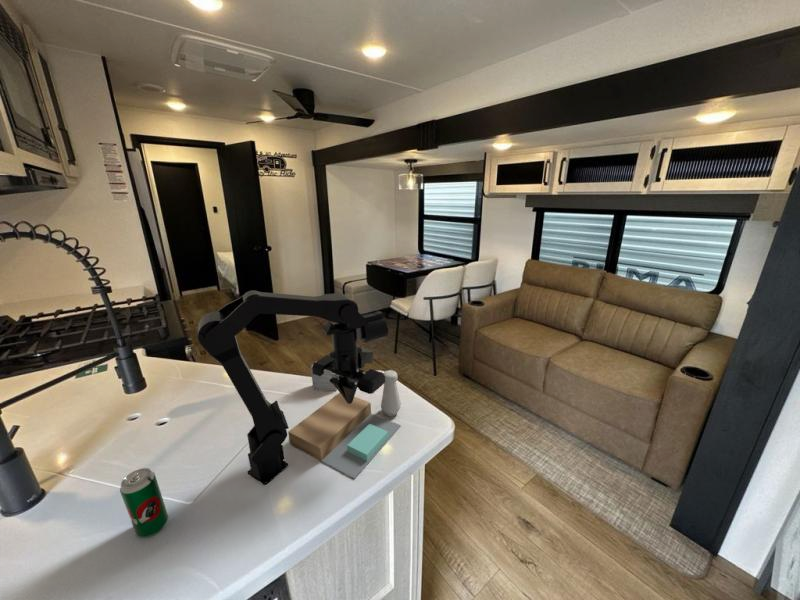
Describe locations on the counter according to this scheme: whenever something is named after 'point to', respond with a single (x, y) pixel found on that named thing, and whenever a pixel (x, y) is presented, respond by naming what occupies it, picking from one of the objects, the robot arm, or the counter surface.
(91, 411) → the counter surface
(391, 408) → the salt shaker
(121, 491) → the soda can
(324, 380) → the medicine box
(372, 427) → the teal rectangular block
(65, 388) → the counter surface
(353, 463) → the mat
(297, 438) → the deck
